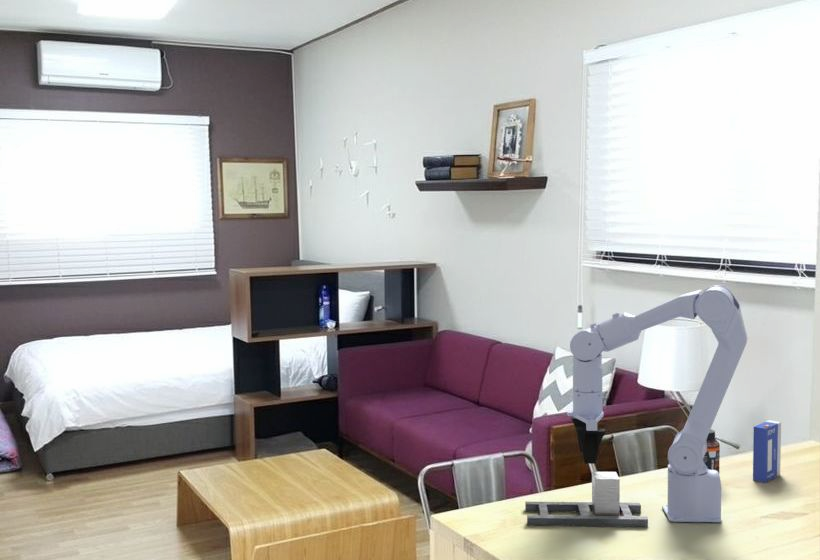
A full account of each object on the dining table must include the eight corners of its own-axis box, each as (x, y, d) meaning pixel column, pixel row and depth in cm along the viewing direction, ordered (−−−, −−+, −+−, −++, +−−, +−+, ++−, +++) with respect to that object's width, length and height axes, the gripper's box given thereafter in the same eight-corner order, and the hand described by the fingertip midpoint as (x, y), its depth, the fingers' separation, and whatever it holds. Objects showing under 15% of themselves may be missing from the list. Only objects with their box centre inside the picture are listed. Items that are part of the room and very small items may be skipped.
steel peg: (615, 512, 168) (615, 471, 167) (619, 520, 163) (619, 479, 162) (592, 512, 168) (592, 471, 167) (595, 520, 163) (595, 479, 163)
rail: (639, 510, 169) (639, 502, 169) (647, 527, 160) (647, 519, 160) (525, 508, 171) (525, 501, 171) (527, 525, 162) (527, 517, 162)
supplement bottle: (721, 487, 182) (721, 434, 181) (691, 486, 183) (691, 433, 182) (717, 478, 188) (717, 427, 187) (688, 477, 189) (688, 426, 188)
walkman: (765, 483, 184) (766, 427, 183) (752, 480, 186) (753, 425, 185) (781, 474, 190) (782, 420, 189) (768, 471, 192) (769, 418, 191)
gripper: (563, 382, 179) (564, 447, 180) (570, 398, 165) (570, 468, 166) (598, 382, 179) (598, 447, 180) (608, 398, 164) (608, 468, 165)
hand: (587, 457), depth 173 cm, fingers open, 7 cm apart
